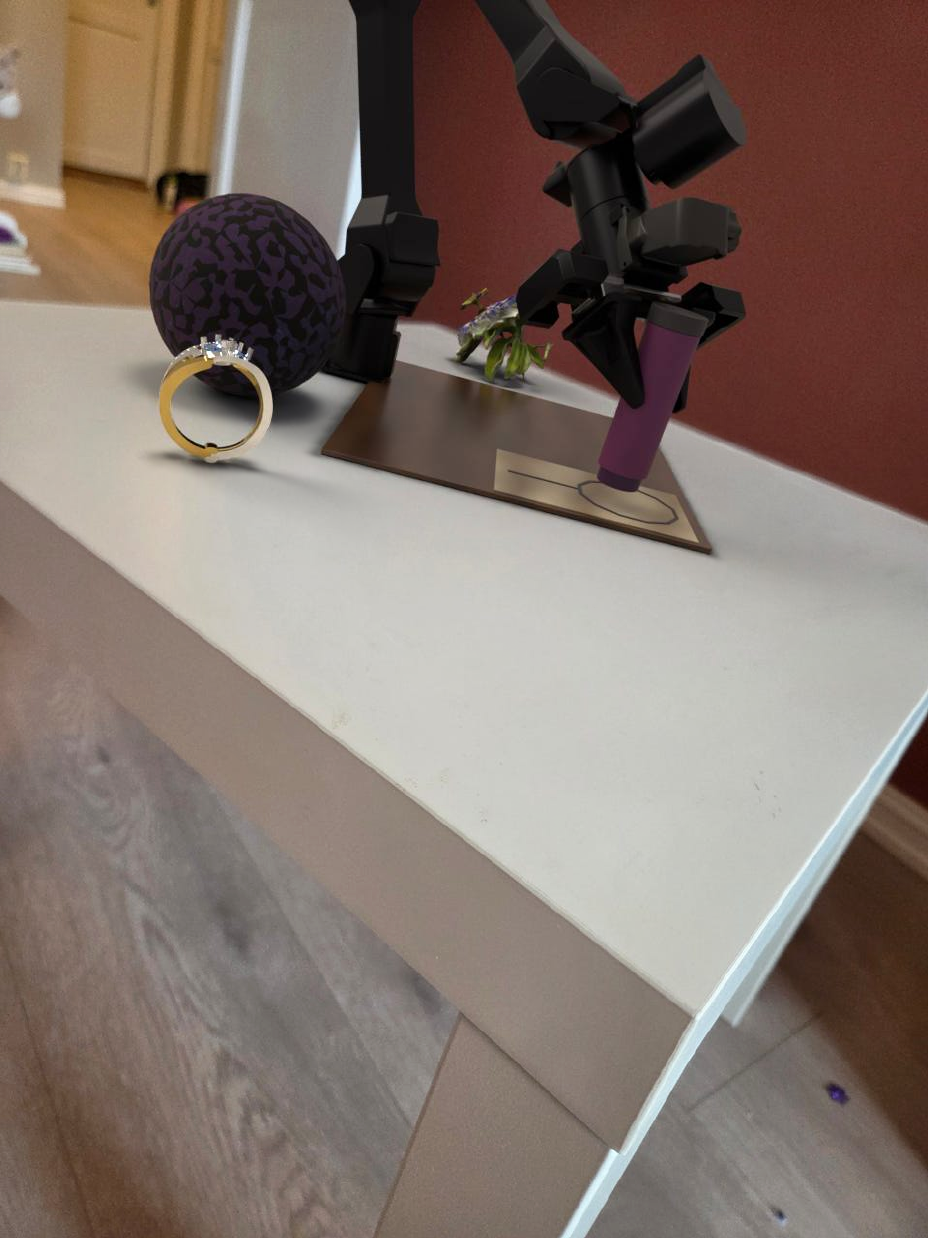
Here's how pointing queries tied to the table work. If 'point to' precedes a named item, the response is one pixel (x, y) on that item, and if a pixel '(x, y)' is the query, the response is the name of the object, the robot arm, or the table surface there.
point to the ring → (213, 354)
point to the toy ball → (249, 289)
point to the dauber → (650, 396)
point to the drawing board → (507, 452)
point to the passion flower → (488, 327)
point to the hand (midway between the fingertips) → (659, 408)
